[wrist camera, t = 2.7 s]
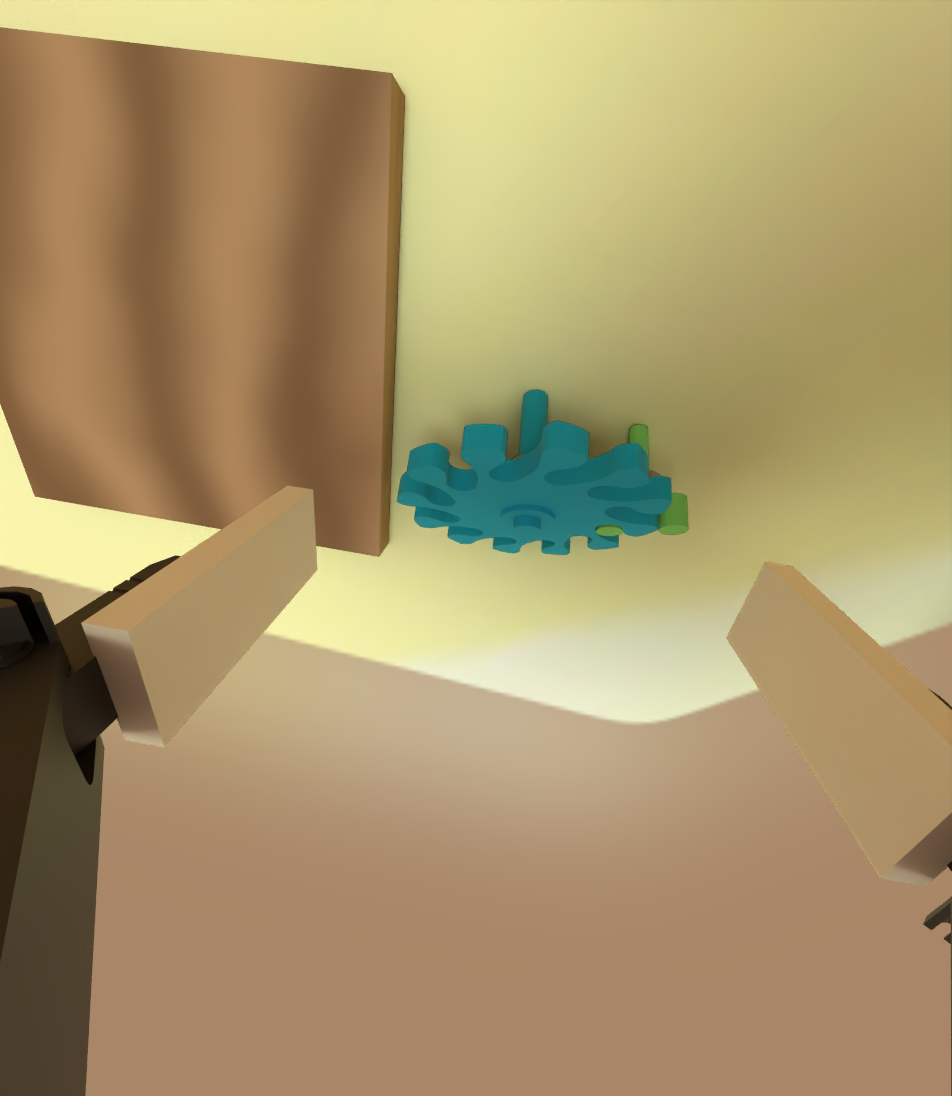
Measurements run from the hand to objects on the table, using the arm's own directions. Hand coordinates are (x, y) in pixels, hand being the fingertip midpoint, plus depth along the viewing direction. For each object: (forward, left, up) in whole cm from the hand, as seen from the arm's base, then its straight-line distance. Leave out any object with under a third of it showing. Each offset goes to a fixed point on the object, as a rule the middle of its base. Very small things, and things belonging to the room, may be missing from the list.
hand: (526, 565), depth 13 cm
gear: (0, 0, -8) cm, 8 cm away
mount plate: (+16, -4, -8) cm, 18 cm away
